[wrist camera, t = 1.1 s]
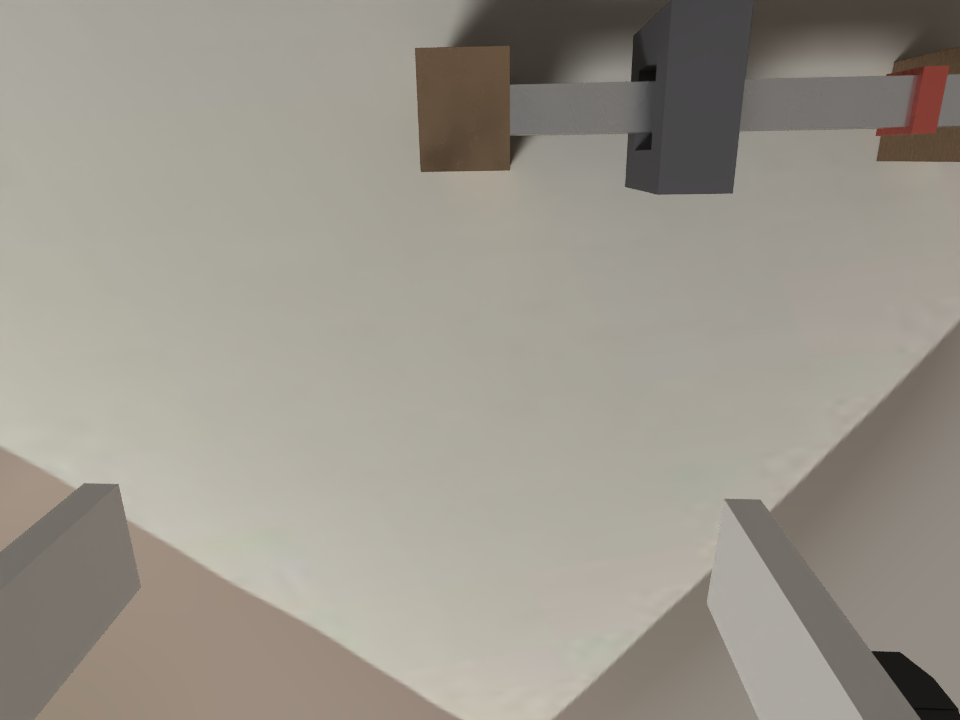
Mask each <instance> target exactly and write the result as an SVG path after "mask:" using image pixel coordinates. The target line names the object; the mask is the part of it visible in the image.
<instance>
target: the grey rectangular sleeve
mask: <svg viewBox="0 0 960 720" xmlns="http://www.w3.org/2000/svg"><path fill="white" fill-rule="evenodd" d="M753 2H754V0H671V1H670V2H669V3H668V4H667V5H666V6H665V7H664V8H663V9H662V10H661V11H660V12H659V13H657V14H656V15H655V16H654V17H653V18H652V19H651V20H650V21H649V22H648V23H647V24H646V25H645V26H644V27H642V28H641V29H640V30H639V31H638V32H637V33H636V34H635V35H634V38H633V56H632V74H631V82H645V81H656V85H655V100H654V114H653V129H652V133H636V134H628V147H627V165H626V183H625V187H628V188H632V189H637V190H641V191H645V192H649V193H654V194H658V195H660V194H723V193H733V185H734V176H735V167H736V158H737V149H738V140H739V130H740V121H741V112H742V103H743V94H744V85H745V75H746V66H747V57H748V48H749V39H750V30H751V20H752V11H753Z"/></svg>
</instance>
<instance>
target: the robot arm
mask: <svg viewBox="0 0 960 720" xmlns="http://www.w3.org/2000/svg"><path fill="white" fill-rule="evenodd" d="M140 588H141V585H140V580H139V576H138V572H137V567H136V562H135V557H134V553H133V549H132V544H131V539H130V535H129V530H128V525H127V521H126V516H125V512H124V507H123V503H122V498H121V493H120V489H119V484H88V483H84V484H83V485H82V486H80V487H79V488H78V489H77V490H75V491H74V492H73V493H72V494H71V495H70V496H68V497H67V498H66V499H64V500H63V501H62V502H61V503H60V504H58V505H57V506H56V507H55V508H54V509H52V510H51V511H50V512H49V513H47V514H46V515H45V516H44V517H43V518H41V519H40V520H39V521H38V522H36V523H35V524H34V525H33V526H32V527H30V528H29V529H28V530H27V531H25V532H24V533H23V534H22V535H21V536H19V537H18V538H17V539H16V540H15V541H13V542H12V543H11V544H10V545H8V546H7V547H6V548H5V549H4V550H2V551H1V552H0V720H34V719H35V718H36V717H37V715H38V714H39V713H40V712H41V710H42V709H43V708H44V707H45V705H46V704H47V703H48V702H49V700H50V699H51V698H52V697H53V696H54V694H55V693H56V692H57V690H58V689H59V688H60V687H61V686H62V684H63V683H64V682H65V680H66V679H67V678H68V677H69V676H70V674H71V673H72V672H73V671H74V669H75V668H76V667H77V666H78V664H79V663H80V662H81V661H82V660H83V658H84V657H85V656H86V654H87V653H88V652H89V651H90V650H91V648H92V647H93V646H94V645H95V643H96V642H97V641H98V640H99V638H100V637H101V636H102V635H103V634H104V632H105V631H106V630H107V629H108V627H109V626H110V625H111V624H112V622H113V621H114V620H115V619H116V617H117V616H118V615H119V614H120V612H121V611H122V610H123V609H124V607H125V606H126V605H127V604H128V603H129V601H130V600H131V599H132V597H133V596H134V595H135V594H136V592H137V591H138V590H139V589H140ZM707 605H708V607H709V609H710V611H711V614H712V616H713V618H714V620H715V623H716V625H717V627H718V629H719V631H720V634H721V636H722V638H723V640H724V642H725V645H726V647H727V649H728V651H729V653H730V656H731V658H732V660H733V663H734V665H735V667H736V669H737V671H738V673H739V676H740V678H741V680H742V683H743V685H744V687H745V689H746V692H747V694H748V696H749V698H750V700H751V703H752V705H753V707H754V709H755V712H756V714H757V716H758V718H759V720H960V714H959V711H958V708H957V707H956V706H955V704H954V703H953V702H952V701H951V699H950V698H949V697H948V696H947V694H946V693H945V692H944V691H943V689H942V688H941V687H940V686H939V684H938V683H937V682H936V681H935V680H934V678H932V677H931V676H930V675H928V674H927V673H926V672H925V671H923V670H922V669H921V668H920V667H918V666H917V665H916V664H914V663H913V662H912V661H910V660H909V659H908V658H907V657H906V656H904V655H903V654H902V653H900V652H880V651H879V652H877V651H870V649H869V648H868V646H867V645H866V644H865V642H864V641H863V640H862V638H861V637H860V636H859V634H858V633H857V631H856V630H855V629H854V627H853V626H852V624H851V623H850V622H849V620H848V619H847V618H846V616H845V615H844V614H843V612H842V611H841V609H840V608H839V607H838V605H837V604H836V603H835V601H834V600H833V598H832V597H831V596H830V594H829V593H828V592H827V591H826V589H825V587H824V586H823V585H822V583H821V582H820V581H819V579H818V578H817V577H816V575H815V574H814V572H813V571H812V570H811V569H810V567H809V566H808V564H807V563H806V561H805V560H804V559H803V557H802V556H801V555H800V553H799V552H798V551H797V549H796V548H795V547H794V545H793V544H792V542H791V541H790V540H789V538H788V537H787V536H786V534H785V533H784V531H783V530H782V529H781V527H780V526H779V524H778V523H777V522H776V520H775V519H774V518H773V516H772V515H771V514H770V512H769V511H768V509H767V508H766V507H765V505H764V504H763V503H762V501H761V500H752V499H724V503H723V509H722V515H721V521H720V527H719V533H718V539H717V545H716V551H715V557H714V563H713V569H712V575H711V581H710V587H709V593H708V599H707Z"/></svg>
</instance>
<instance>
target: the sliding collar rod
mask: <svg viewBox="0 0 960 720" xmlns="http://www.w3.org/2000/svg"><path fill="white" fill-rule="evenodd" d="M415 56H416V78H417V100H418V122H419V144H420V165H421V172H441V171H498V170H510V136H535V135H586V134H636V133H652V129H653V114H654V100H655V85H656V81H645V82H602V83H558V84H515V85H510V46H476V47H437V48H415ZM839 129H877V132H876V136H881V140H880V145H879V151H878V157H877V161H926V162H960V46H958V47H954V48H950V49H946V50H942V51H938V52H934V53H930V54H926V55H921V56H917V57H913V58H909V59H905V60H901V61H897V62H894V67H893V72H892V73H891V74H887V75H886V76H863V77H819V78H776V79H745V85H744V94H743V103H742V112H741V121H740V130H739V131H789V130H839Z"/></svg>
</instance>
